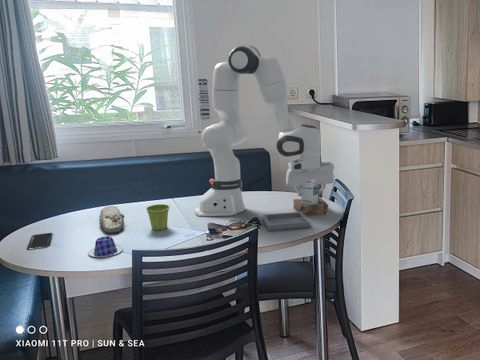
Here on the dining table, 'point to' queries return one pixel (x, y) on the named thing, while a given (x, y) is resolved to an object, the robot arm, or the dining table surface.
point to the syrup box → (310, 193)
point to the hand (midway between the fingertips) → (310, 194)
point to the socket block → (311, 207)
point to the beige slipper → (111, 219)
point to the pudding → (104, 247)
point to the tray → (286, 221)
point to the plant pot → (158, 216)
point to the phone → (40, 240)
